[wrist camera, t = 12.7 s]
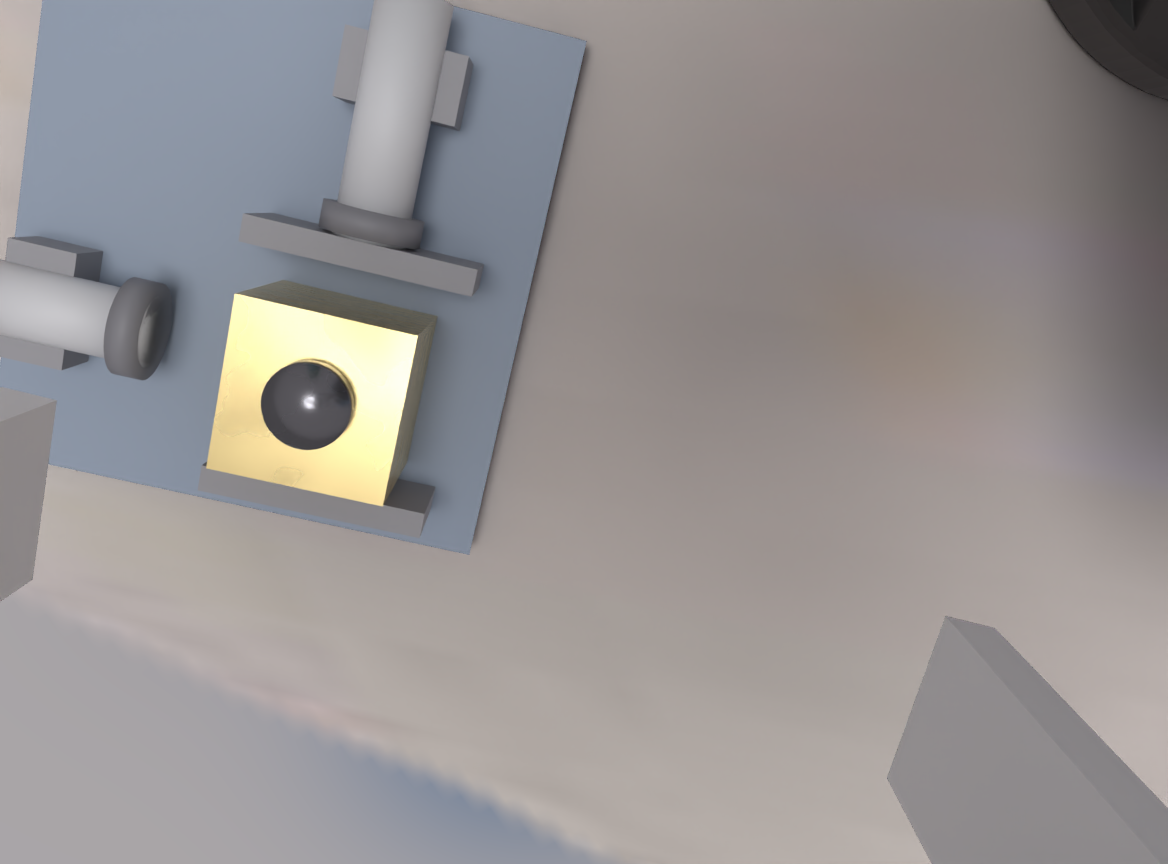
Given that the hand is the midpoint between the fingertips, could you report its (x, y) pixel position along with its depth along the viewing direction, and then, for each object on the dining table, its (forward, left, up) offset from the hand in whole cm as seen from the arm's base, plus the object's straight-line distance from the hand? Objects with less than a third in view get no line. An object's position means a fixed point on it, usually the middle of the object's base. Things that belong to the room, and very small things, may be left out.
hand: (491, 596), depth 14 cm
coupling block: (+1, -6, -19) cm, 20 cm away
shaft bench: (-2, -8, -20) cm, 22 cm away
